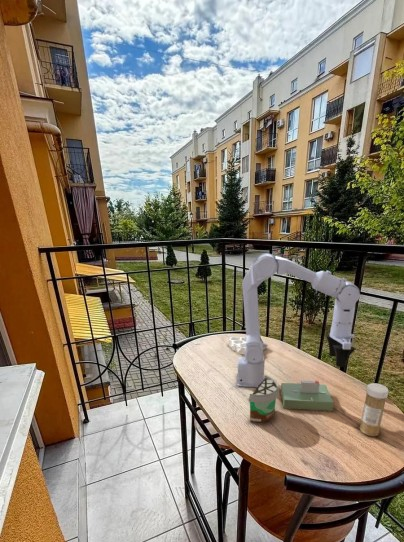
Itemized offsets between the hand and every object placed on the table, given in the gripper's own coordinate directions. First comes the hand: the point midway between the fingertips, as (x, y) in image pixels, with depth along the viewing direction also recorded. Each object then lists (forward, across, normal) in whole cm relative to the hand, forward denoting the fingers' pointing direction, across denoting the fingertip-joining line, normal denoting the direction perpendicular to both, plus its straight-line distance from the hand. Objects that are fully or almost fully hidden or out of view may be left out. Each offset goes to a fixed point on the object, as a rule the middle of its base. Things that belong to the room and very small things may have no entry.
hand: (336, 360), depth 91 cm
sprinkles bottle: (+10, -22, -4) cm, 24 cm away
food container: (+10, -18, +23) cm, 31 cm away
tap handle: (+7, -9, +10) cm, 15 cm away
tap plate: (+10, -9, +10) cm, 17 cm away
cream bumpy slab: (+10, +30, +29) cm, 44 cm away
